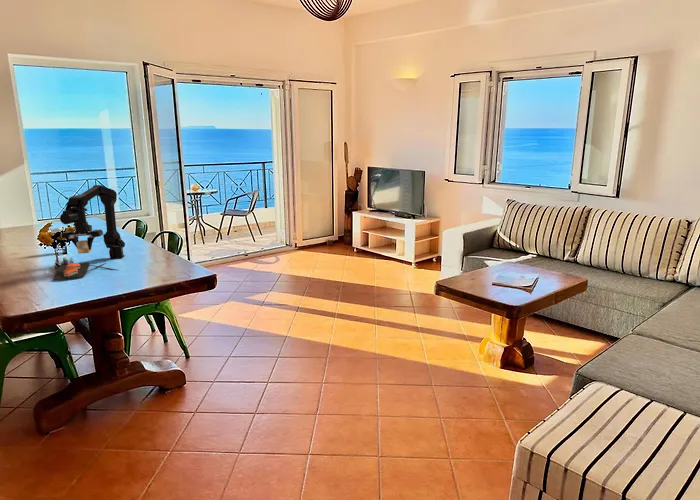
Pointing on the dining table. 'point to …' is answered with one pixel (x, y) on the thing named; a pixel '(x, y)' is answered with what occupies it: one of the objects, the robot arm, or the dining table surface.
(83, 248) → the birch block
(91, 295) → the dining table surface
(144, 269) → the dining table surface
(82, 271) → the sushi plate
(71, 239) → the robot arm
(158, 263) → the dining table surface
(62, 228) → the beer glass
